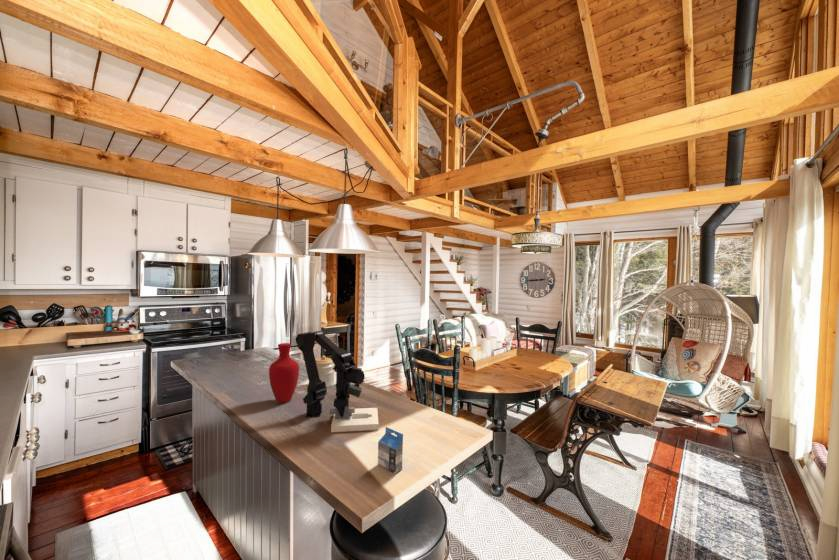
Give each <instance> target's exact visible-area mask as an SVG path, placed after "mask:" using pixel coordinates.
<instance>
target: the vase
mask: <svg viewBox="0 0 839 560" xmlns="http://www.w3.org/2000/svg"><path fill="white" fill-rule="evenodd" d="M291 346H292V343H289V342H284V343H283V342H281V343H278V344H277V347H278V354H279V356H278V358H277V359H276V360H275V361H273V362H272V363H271V364H270V366H269V370H268V377H269V383H270V388H271V392H272V393H273V396H274V399H275V400H276V402H277V403H279V404H286V403H289V402H290V401H291V400H292V399H293V397H294V394H295V392H296V388H297V385H298V381H299V376H300V365H299V363H298V362H297V361H296V360H294V359H293V358H291V356H290V355H291V354H290V353H291V352H290V351H291V348H292V347H291Z"/></svg>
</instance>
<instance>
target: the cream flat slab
mask: <svg viewBox="0 0 839 560" xmlns="http://www.w3.org/2000/svg"><path fill="white" fill-rule="evenodd" d="M378 413H379V412H378V407H367V408H365V407H364V408H362V407H361V408H355V413H352V416H349V419H335V414H333V417H332V421H331V425H330V426H331V427H330V433H342V432H346V433H347V432H360V431H363V432H364V431H379V414H378Z"/></svg>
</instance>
